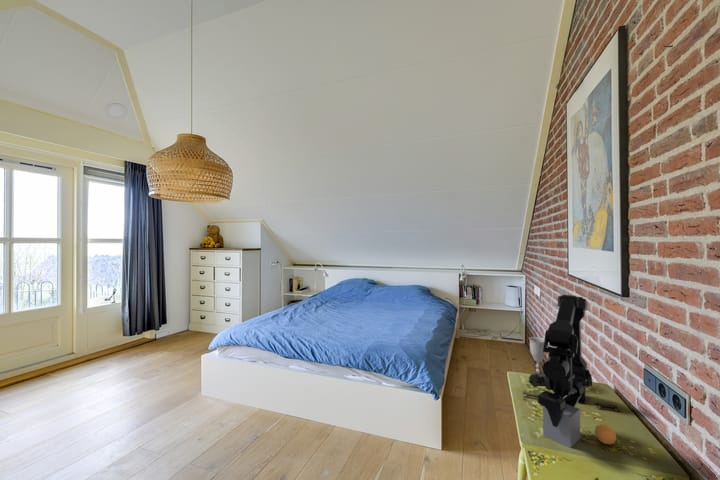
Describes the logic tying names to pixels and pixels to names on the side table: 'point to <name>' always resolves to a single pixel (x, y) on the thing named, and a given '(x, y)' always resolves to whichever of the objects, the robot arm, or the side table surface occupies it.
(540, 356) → the chalice
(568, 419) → the grey block
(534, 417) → the side table surface
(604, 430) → the ball
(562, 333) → the robot arm
